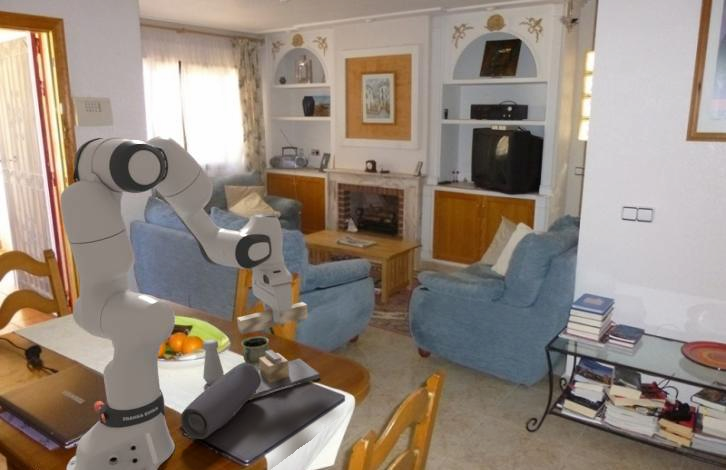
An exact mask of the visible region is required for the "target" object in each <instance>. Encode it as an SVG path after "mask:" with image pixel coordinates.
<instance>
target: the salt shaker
mask: <svg viewBox="0 0 726 470" xmlns="http://www.w3.org/2000/svg"><path fill="white" fill-rule="evenodd" d="M218 348H219V342H218V340H217V339H216V338H215V339H214V338H209V339H206V340H204V341H203V343H202V349H203V350H204V351H205V352H204V362H203V363H204V364H203V374H202V375H203V376H202V377H203V379H204V381H205V382H206V383H207V385H208V386H211V385H212V384H213V383H214V382H215V381H217V380H218V379H219V378H221V377H222V376H223V375H224V374H225V372H224V368H223V366H222V362H221V359H220V356H219V355H220V354H219V352H218Z"/></svg>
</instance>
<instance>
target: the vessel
mask: <svg viewBox="0 0 726 470" xmlns="http://www.w3.org/2000/svg"><path fill="white" fill-rule="evenodd" d="M269 342H270V341H269V338H267V337H266V336H251V337H248V338H245V339H243V340H242V341H241V346H242V352H241V354H242V355H241V356H242V357H243V360H244V363H248V364H251V365H252V366H257V365H259V366H260V363H259V358H261V357H264V356H265V351H268V350H271V348H270V346H269Z"/></svg>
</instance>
